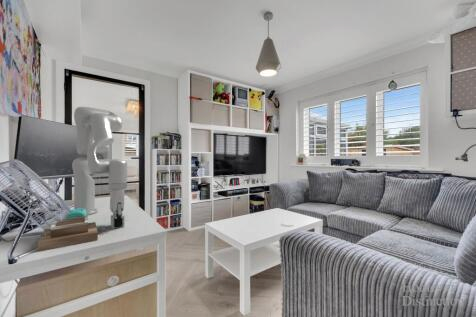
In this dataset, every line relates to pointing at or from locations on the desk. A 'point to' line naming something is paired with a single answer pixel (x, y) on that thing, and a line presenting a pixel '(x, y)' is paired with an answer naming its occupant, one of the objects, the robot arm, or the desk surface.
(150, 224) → the desk surface
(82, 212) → the decorative dice
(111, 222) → the sage block
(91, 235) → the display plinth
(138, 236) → the desk surface
